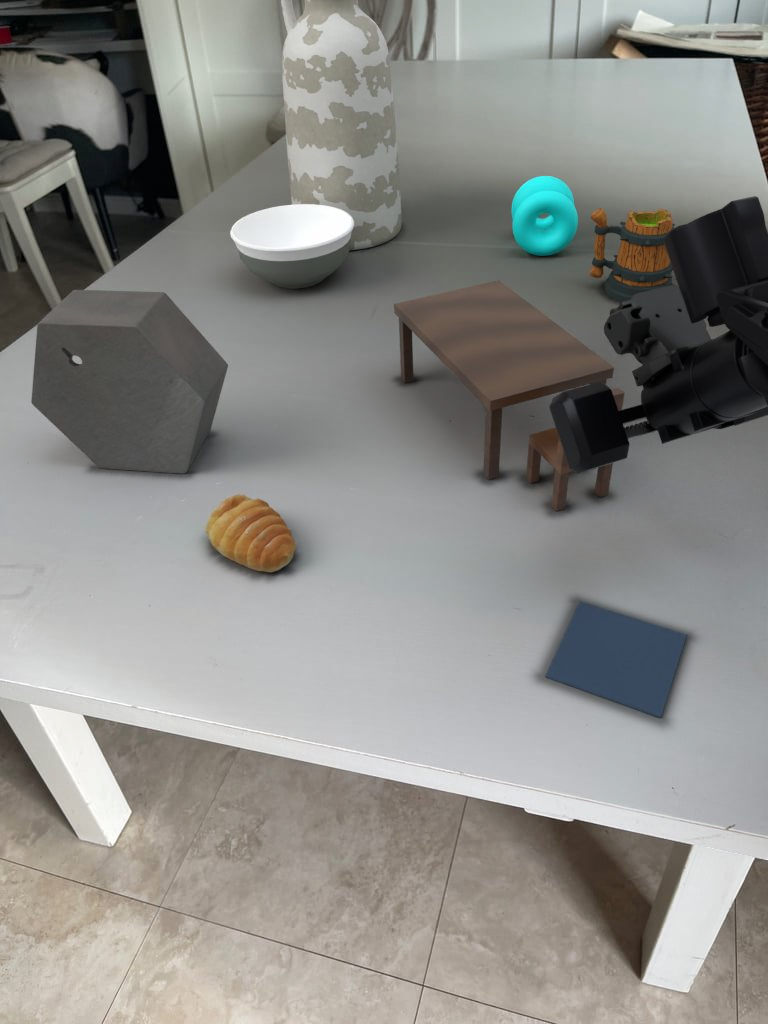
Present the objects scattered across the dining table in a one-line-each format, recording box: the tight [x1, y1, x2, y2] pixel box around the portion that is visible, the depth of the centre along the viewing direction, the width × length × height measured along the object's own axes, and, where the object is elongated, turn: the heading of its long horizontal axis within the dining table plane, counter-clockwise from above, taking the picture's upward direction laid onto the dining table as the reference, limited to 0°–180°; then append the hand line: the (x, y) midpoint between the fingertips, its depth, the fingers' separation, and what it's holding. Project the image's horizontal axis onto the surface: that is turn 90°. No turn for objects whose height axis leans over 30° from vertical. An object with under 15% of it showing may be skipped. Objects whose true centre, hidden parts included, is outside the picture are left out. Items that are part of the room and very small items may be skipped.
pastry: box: [205, 494, 298, 573], centre depth 76 cm, size 9×7×4 cm
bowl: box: [229, 204, 354, 290], centre depth 124 cm, size 19×19×8 cm
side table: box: [393, 279, 615, 481], centre depth 91 cm, size 24×14×10 cm, turn 22°
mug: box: [588, 207, 676, 303], centre depth 113 cm, size 13×10×12 cm
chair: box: [525, 387, 625, 512], centre depth 79 cm, size 6×6×12 cm
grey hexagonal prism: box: [30, 289, 229, 475], centre depth 86 cm, size 17×8×21 cm
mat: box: [545, 601, 688, 719], centre depth 65 cm, size 9×9×1 cm
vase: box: [280, 0, 403, 251], centre depth 129 cm, size 20×19×38 cm
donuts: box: [511, 175, 579, 257], centre depth 128 cm, size 10×10×10 cm
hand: (613, 429), depth 71 cm, fingers open, 9 cm apart
